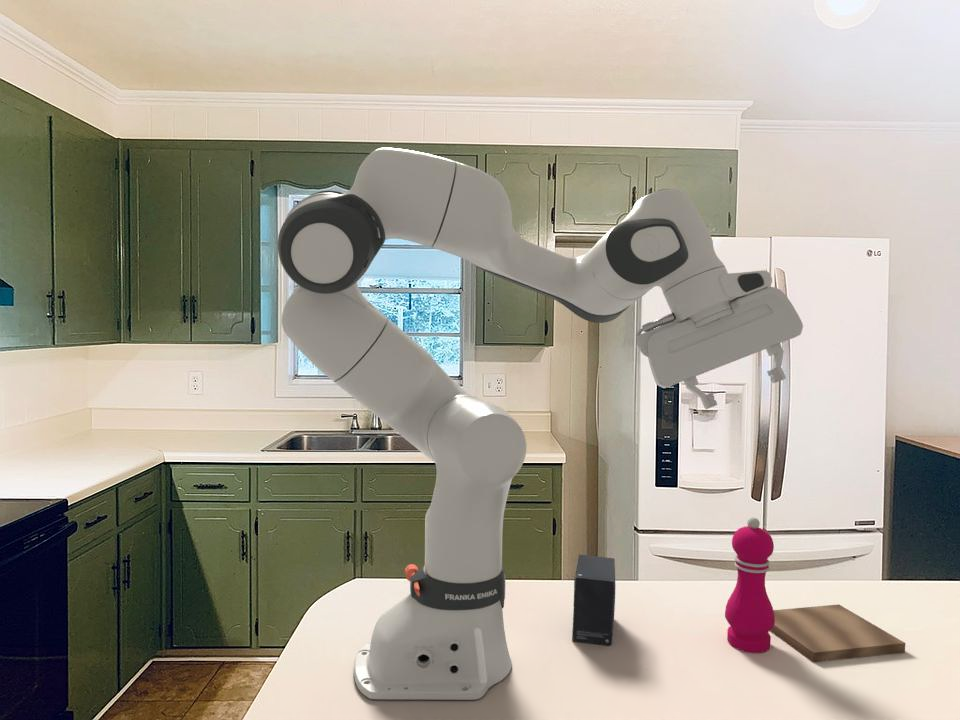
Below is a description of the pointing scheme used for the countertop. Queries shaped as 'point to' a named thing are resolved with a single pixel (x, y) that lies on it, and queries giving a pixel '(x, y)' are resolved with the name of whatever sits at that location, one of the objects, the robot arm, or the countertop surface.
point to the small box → (594, 600)
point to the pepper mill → (750, 591)
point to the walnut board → (832, 634)
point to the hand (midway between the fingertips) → (745, 394)
